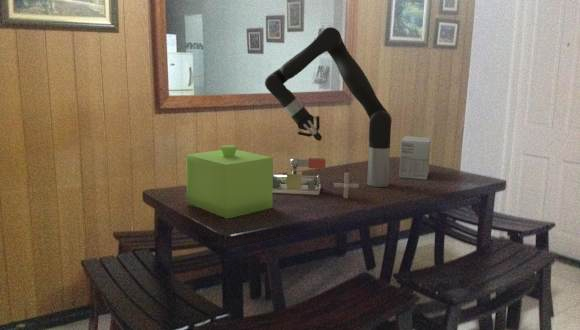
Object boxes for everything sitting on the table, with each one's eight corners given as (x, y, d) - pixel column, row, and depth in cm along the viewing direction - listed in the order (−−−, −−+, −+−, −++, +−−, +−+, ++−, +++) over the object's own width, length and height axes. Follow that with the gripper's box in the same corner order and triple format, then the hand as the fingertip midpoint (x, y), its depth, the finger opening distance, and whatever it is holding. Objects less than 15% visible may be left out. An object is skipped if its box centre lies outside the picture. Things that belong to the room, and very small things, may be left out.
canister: (187, 204, 193) (185, 144, 188) (231, 194, 208) (231, 139, 203) (226, 219, 175) (226, 153, 171) (272, 208, 190) (273, 147, 185)
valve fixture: (320, 187, 221) (321, 165, 219) (318, 194, 209) (319, 171, 207) (270, 185, 223) (271, 163, 221) (266, 192, 211) (266, 168, 209)
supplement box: (427, 180, 239) (429, 142, 235) (398, 177, 243) (400, 140, 239) (428, 172, 255) (431, 137, 251) (402, 170, 259) (404, 135, 255)
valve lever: (289, 167, 212) (290, 158, 212) (290, 166, 216) (290, 157, 215) (325, 169, 211) (325, 159, 210) (325, 167, 215) (325, 158, 214)
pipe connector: (357, 194, 210) (358, 171, 208) (358, 201, 200) (359, 176, 198) (333, 193, 211) (334, 170, 209) (333, 200, 201) (333, 175, 199)
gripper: (307, 100, 232) (330, 129, 235) (284, 119, 233) (308, 147, 236) (308, 101, 225) (332, 131, 228) (285, 120, 225) (310, 150, 228)
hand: (320, 139), depth 232 cm, fingers closed
